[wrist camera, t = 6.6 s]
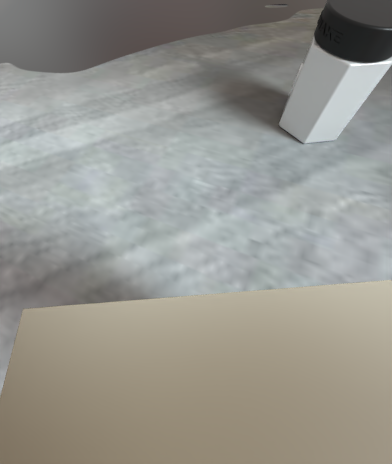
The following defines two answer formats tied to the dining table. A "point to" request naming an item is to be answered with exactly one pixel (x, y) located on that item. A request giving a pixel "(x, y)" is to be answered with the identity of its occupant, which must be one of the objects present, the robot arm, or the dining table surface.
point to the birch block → (204, 380)
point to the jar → (339, 68)
